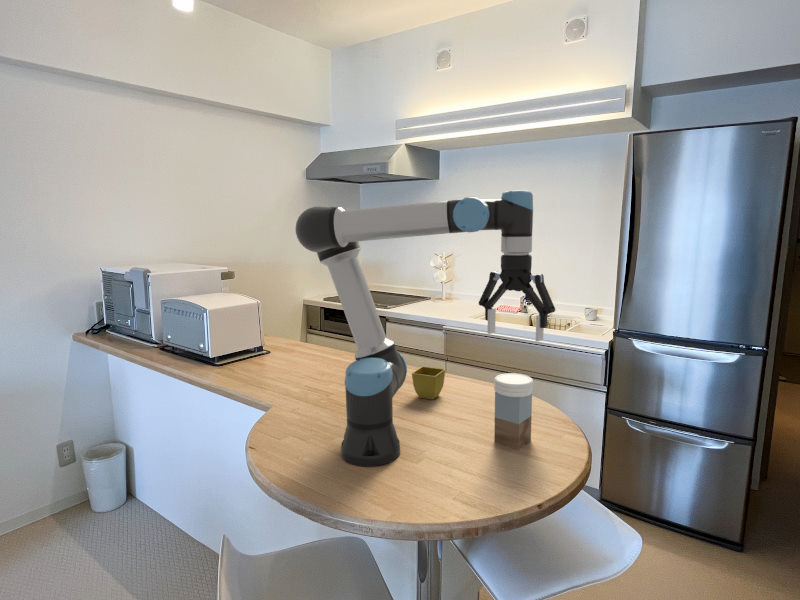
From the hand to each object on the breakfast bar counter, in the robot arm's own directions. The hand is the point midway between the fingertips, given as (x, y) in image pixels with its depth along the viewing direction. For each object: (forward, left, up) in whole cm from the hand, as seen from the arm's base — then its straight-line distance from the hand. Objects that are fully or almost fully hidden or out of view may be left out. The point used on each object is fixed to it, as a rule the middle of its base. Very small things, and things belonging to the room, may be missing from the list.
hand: (514, 336), depth 124 cm
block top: (0, 0, -22) cm, 22 cm away
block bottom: (0, 0, -29) cm, 29 cm away
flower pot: (+13, +38, -29) cm, 49 cm away
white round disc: (0, 0, -15) cm, 15 cm away
